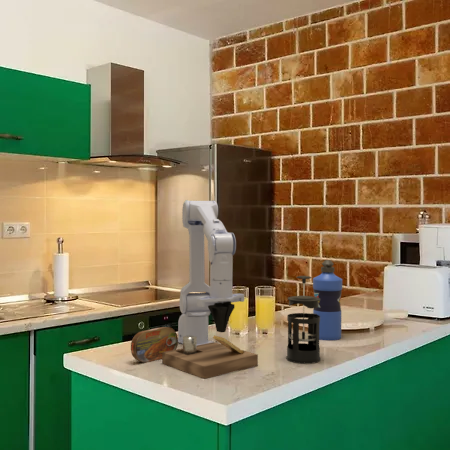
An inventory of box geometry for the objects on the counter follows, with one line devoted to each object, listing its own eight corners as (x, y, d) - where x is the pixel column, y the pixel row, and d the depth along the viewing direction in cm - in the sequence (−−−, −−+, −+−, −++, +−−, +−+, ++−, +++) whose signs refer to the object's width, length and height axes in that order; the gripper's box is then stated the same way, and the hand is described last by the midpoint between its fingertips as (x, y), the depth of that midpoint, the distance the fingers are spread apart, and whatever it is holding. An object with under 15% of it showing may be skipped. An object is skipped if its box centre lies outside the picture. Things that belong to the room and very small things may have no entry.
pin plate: (162, 363, 152) (162, 352, 152) (214, 352, 164) (214, 342, 164) (204, 378, 139) (204, 366, 138) (257, 365, 150) (257, 354, 150)
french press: (309, 366, 150) (310, 279, 150) (278, 360, 156) (279, 276, 155) (329, 357, 160) (330, 275, 159) (299, 351, 165) (300, 272, 165)
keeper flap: (212, 338, 149) (214, 334, 149) (232, 351, 154) (234, 348, 154) (222, 340, 146) (224, 337, 146) (242, 354, 151) (244, 351, 151)
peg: (180, 362, 153) (180, 336, 153) (190, 360, 155) (190, 334, 155) (188, 365, 150) (188, 339, 150) (199, 363, 153) (199, 337, 153)
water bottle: (338, 334, 190) (338, 259, 189) (344, 340, 180) (345, 261, 180) (310, 334, 189) (310, 258, 189) (315, 340, 180) (316, 261, 179)
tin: (135, 365, 150) (136, 333, 150) (128, 363, 152) (128, 331, 152) (178, 355, 161) (178, 325, 161) (171, 353, 163) (171, 323, 163)
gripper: (209, 283, 140) (209, 338, 140) (252, 278, 150) (251, 330, 150) (192, 280, 145) (191, 333, 146) (234, 276, 155) (234, 326, 155)
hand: (221, 331), depth 148 cm, fingers closed
